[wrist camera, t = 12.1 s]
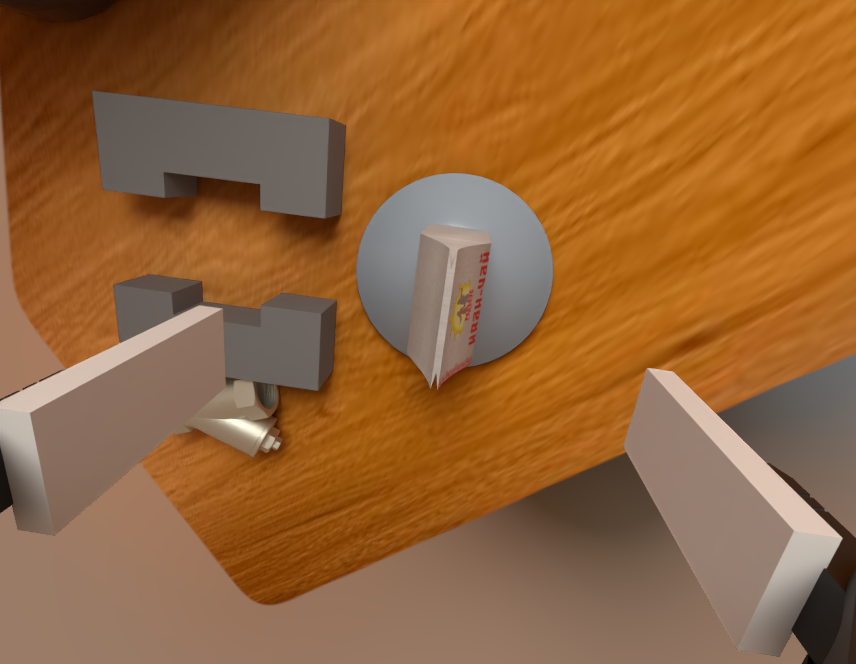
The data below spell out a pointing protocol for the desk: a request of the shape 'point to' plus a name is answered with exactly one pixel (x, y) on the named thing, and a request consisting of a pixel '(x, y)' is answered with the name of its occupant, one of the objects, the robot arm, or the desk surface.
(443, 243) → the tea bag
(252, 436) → the pipe fitting
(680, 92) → the desk surface
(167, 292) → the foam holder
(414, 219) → the blue-grey round plate
